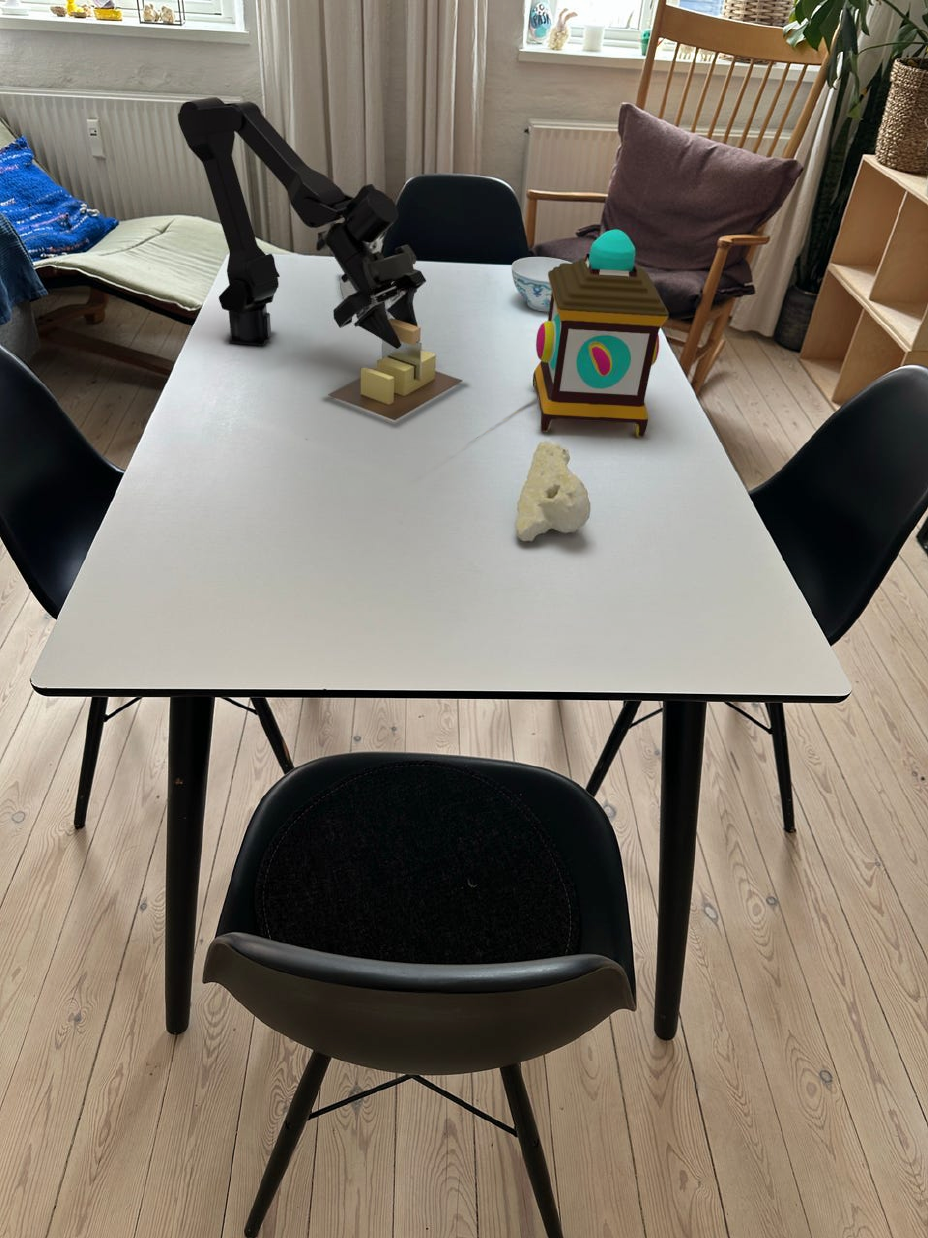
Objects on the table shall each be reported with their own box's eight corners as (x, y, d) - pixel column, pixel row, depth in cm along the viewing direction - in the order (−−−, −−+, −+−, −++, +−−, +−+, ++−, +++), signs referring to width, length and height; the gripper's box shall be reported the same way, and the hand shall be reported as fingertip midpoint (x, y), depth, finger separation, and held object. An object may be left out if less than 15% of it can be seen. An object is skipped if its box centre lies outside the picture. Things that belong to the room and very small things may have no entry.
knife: (378, 369, 158) (378, 319, 152) (385, 365, 159) (386, 316, 154) (415, 383, 155) (418, 332, 149) (423, 378, 156) (425, 328, 151)
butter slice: (360, 394, 154) (360, 368, 152) (365, 391, 155) (365, 366, 152) (389, 404, 152) (389, 379, 149) (393, 402, 153) (394, 377, 150)
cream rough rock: (568, 574, 124) (634, 485, 124) (536, 543, 119) (604, 451, 120) (508, 546, 136) (568, 465, 137) (477, 517, 132) (539, 434, 133)
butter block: (375, 385, 157) (376, 360, 155) (407, 369, 163) (407, 344, 161) (404, 396, 155) (405, 371, 152) (434, 379, 161) (436, 354, 158)
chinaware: (581, 321, 190) (587, 284, 185) (508, 316, 189) (512, 278, 185) (575, 295, 202) (580, 259, 197) (507, 290, 201) (510, 254, 196)
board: (327, 399, 154) (327, 394, 154) (398, 363, 168) (399, 357, 167) (394, 425, 149) (394, 420, 148) (462, 385, 162) (463, 380, 162)
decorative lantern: (634, 390, 166) (669, 214, 147) (654, 443, 150) (696, 255, 131) (523, 384, 164) (544, 206, 146) (532, 437, 149) (557, 246, 130)
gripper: (346, 243, 138) (404, 334, 141) (419, 218, 151) (470, 302, 153) (308, 283, 146) (363, 369, 149) (380, 256, 159) (429, 335, 161)
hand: (408, 342), depth 153 cm, fingers open, 5 cm apart
